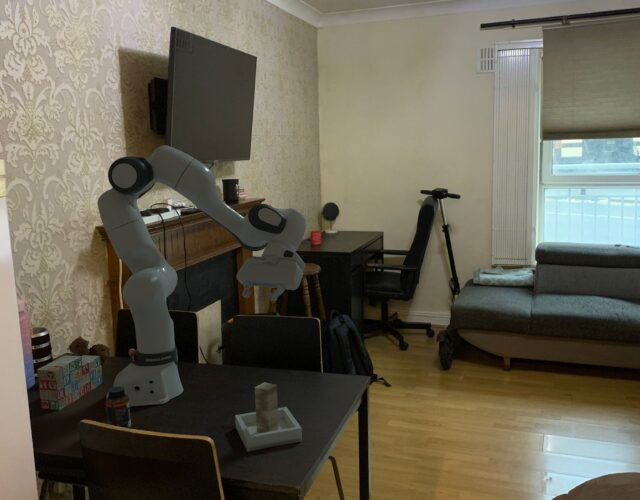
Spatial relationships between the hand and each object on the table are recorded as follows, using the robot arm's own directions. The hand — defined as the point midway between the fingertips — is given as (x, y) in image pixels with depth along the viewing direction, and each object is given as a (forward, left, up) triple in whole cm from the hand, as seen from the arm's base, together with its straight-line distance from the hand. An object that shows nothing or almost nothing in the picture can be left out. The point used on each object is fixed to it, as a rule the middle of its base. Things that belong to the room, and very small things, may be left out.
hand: (258, 298), depth 173 cm
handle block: (-4, -19, -30) cm, 36 cm away
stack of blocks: (-52, +29, -32) cm, 68 cm away
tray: (-4, -19, -31) cm, 37 cm away
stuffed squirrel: (-48, +47, -32) cm, 75 cm away
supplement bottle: (-40, -1, -32) cm, 51 cm away
